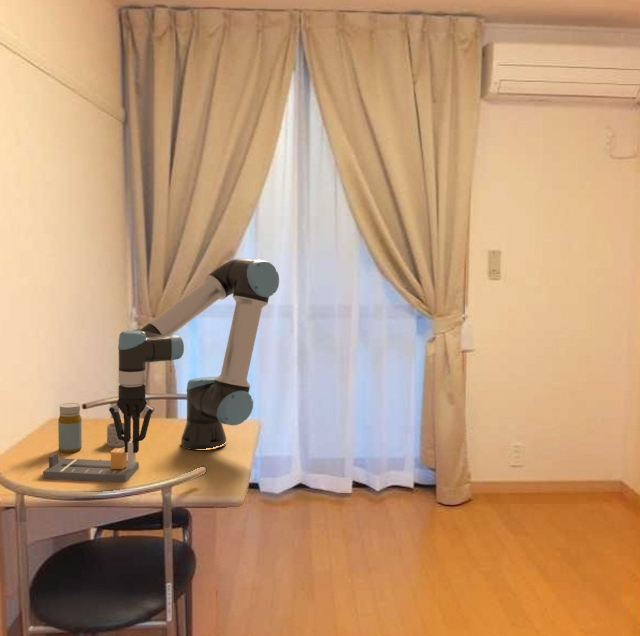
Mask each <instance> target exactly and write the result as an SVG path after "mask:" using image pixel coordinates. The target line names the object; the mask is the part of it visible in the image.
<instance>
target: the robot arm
mask: <svg viewBox="0 0 640 636" xmlns="http://www.w3.org/2000/svg"><path fill="white" fill-rule="evenodd" d="M279 285H280V275H279V273H278V270H277V269H276V267H275V266H274V264H273V263H271V262H269V261H267V260H262V259H257V258H253V259H251V258H234V259H231V260H229V261H227V262H225V263H223V264H222V265H220V266H219V267H217V268H216V269H214V270H213V271H211V272H210V273H209V274H207V275H206V276H205V278H204V281H203V282H201V283H200V284H199V285H198V286H196V287H195V288H194V289H193V290H191V291H190V292H188V293H187V294H186V295H184V296H183V297H182V298H181V299H179V300H178V301H176V302H175V303H173V305H171V306H170V307H169V308H167V309H166V310H165V311H163V312H162V313H160V314H159V315H158V316H157V317H155V318H154V319H152V320H151V321H150V322H148V323H147V324H146V325H144V326H143V327H142V328H141V329H140V328H136V329H132V330H131V329H130V330H124V331H121V332H120V333H119V335H118V347H117V348H118V384H119V385H118V399H117V402H116V404H115V405H112V406H111V407H109V408H108V411H109V413H110V414H111V416H112V421H113V423H114V424H115V428H116V432H117V436H118V439H119V440H123V441H124V443H125V445H124V448H123V449H124V451H125V452H126V453H127V461H128V465H133V464H134V463H135V462H137V461H136V454H137V453H138V452H139V449H140V442H142V441H144V439H146V437H147V432H148V429H149V424H150V421H151V416H152V415H153V413H154V411H155V408H154V407H150V406H149V405H148V403H147V400H146V365H147V363H154V362H155V363H159V362H167V361H169V362H172V361H174V360H179V359H181V358H182V356H183V355H184V352H185V346H184V341H183V339H182V337H181V336H179V335H178V334H177V335H176V334H175V333H177V332H178V331H179V330H180V329H182V328H184V326H186V325H188V324H189V323H190V322H191V321H193V319H195V318H197V316H198V315H200V314H202V313H203V312H204V311H205V310H207V309H208V308H209V307H211V306H212V305H213V304H214V303H216V302H217V301H219V300H221V301H222V300H224V299H226V298H227V297H228V296H231V295H232V298H233V300H234V301H235V307H234V310H233V314H232V315H233V316H232V320H231V321H232V322H231V325H230V330H229V334H228V339H227V344H226V348H225V352H224V353H225V354H224V359H223V364H222V367H221V372H220V375H218V376H204V377H195V378H191V379H189V380H188V381H187V385H186V386H187V387H186V424H185V427H184V429H183V431H182V432H183V433H182V435H181V439H180V444H181V446H182V447H183V446H184V447H186V448H185V449H187V448H190V449H189V450H191V449H206V448H213V447H216V446H220V445H222V444H224V443H225V442H226V443H227V436H226V435H227V434H226V433H225V430H224V426H223V425H228V426H233V427H234V426H238V425H241V424H242V423H244V422H245V421H247V420H248V418H249V417H250V415H252V412H253V409H254V400H253V398H252V395H251V394H250V389H251V384H250V383H249V382H248V376H249V371H250V366H251V362H252V361H251V360H252V356H253V352H254V347H255V342H256V338H257V333H258V327H259V324H260V319H261V314H262V310H263V308H264V307H266V306H267V305H268V303H269V299H270V297H271V296H273V295H274V294H275V293H276V292H277V290H278V289H279ZM120 411H121V413H122V414H123V422H122V419H121V414H120ZM143 411H144V413H145V415H144V418H143V421H142V425H141V429H140V418H141V414H142V413H143ZM131 422H132V423H131ZM122 423H124V431H123V426H122ZM131 432H132V433H131ZM131 435H132V436H131ZM184 447H183V448H184Z"/></svg>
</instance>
